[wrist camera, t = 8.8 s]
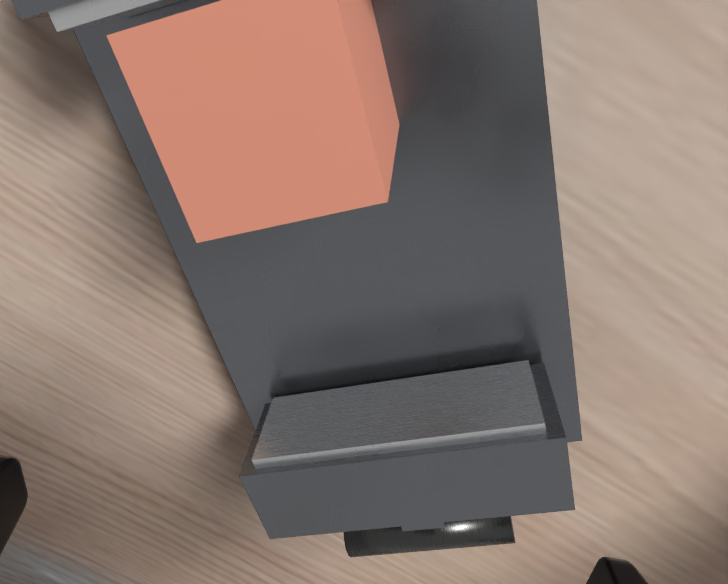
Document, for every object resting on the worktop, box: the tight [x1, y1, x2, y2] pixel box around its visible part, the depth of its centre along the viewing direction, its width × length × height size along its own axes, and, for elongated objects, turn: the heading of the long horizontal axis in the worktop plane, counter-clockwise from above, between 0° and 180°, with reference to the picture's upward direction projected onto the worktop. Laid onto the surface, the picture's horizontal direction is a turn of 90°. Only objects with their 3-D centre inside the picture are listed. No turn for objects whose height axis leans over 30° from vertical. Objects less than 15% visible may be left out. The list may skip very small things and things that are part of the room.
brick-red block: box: [106, 0, 399, 243], centre depth 13 cm, size 4×4×6 cm
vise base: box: [12, 0, 582, 442], centre depth 16 cm, size 22×12×5 cm, turn 15°
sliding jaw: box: [239, 360, 575, 557], centre depth 20 cm, size 6×10×4 cm, turn 104°
